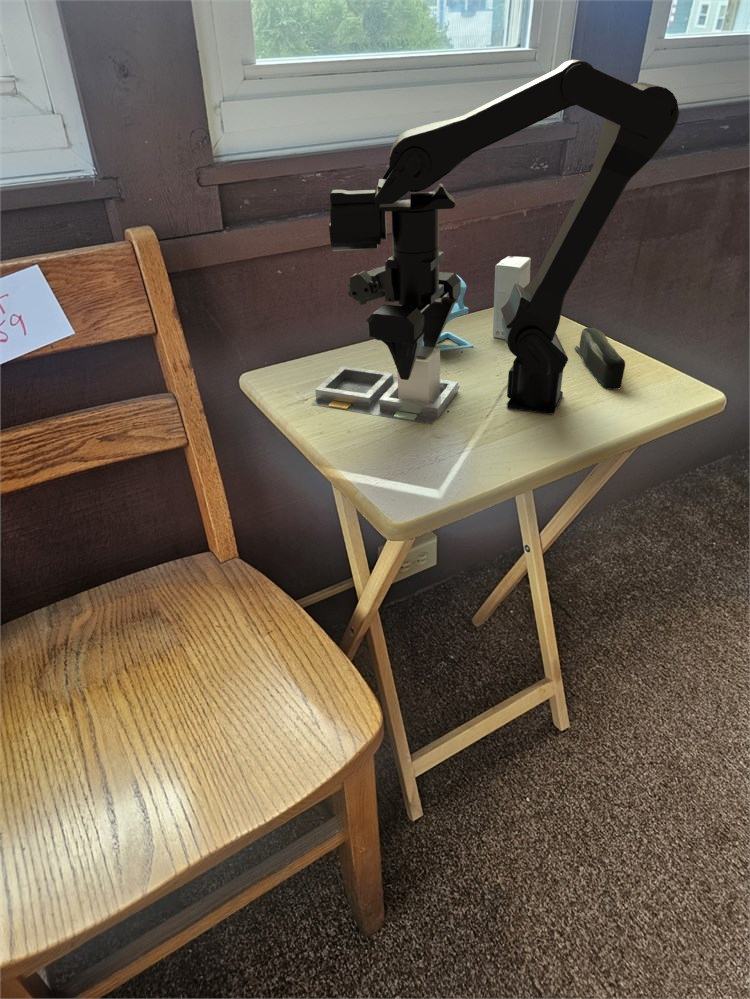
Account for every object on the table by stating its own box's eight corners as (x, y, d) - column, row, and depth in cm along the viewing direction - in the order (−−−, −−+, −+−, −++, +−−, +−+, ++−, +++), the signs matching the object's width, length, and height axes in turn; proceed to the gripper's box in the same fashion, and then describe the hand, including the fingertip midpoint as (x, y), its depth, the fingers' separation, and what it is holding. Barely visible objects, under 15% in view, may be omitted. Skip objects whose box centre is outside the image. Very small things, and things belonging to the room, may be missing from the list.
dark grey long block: (630, 359, 93) (592, 319, 105) (609, 361, 93) (573, 320, 105) (624, 391, 96) (588, 348, 108) (603, 393, 96) (569, 350, 108)
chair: (406, 347, 112) (404, 275, 105) (448, 336, 115) (448, 265, 108) (431, 363, 107) (430, 288, 100) (474, 350, 110) (476, 277, 103)
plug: (439, 395, 95) (439, 346, 91) (428, 409, 92) (428, 359, 88) (407, 390, 97) (405, 342, 93) (395, 404, 94) (393, 354, 89)
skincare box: (516, 341, 112) (521, 267, 105) (490, 337, 114) (494, 265, 107) (527, 328, 116) (533, 257, 109) (503, 325, 118) (507, 254, 111)
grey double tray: (461, 391, 98) (461, 376, 96) (433, 429, 89) (433, 414, 88) (347, 375, 104) (346, 361, 103) (311, 409, 96) (309, 394, 94)
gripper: (385, 225, 92) (389, 334, 101) (322, 264, 78) (334, 386, 87) (463, 229, 88) (460, 342, 97) (411, 271, 74) (413, 398, 83)
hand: (417, 365), depth 91 cm, fingers open, 9 cm apart
